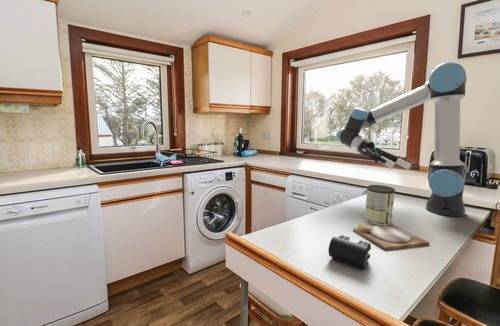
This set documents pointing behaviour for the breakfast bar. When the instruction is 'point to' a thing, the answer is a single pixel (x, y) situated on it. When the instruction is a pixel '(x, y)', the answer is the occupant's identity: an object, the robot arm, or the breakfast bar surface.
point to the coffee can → (379, 204)
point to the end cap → (350, 251)
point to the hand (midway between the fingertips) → (402, 166)
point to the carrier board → (389, 237)
